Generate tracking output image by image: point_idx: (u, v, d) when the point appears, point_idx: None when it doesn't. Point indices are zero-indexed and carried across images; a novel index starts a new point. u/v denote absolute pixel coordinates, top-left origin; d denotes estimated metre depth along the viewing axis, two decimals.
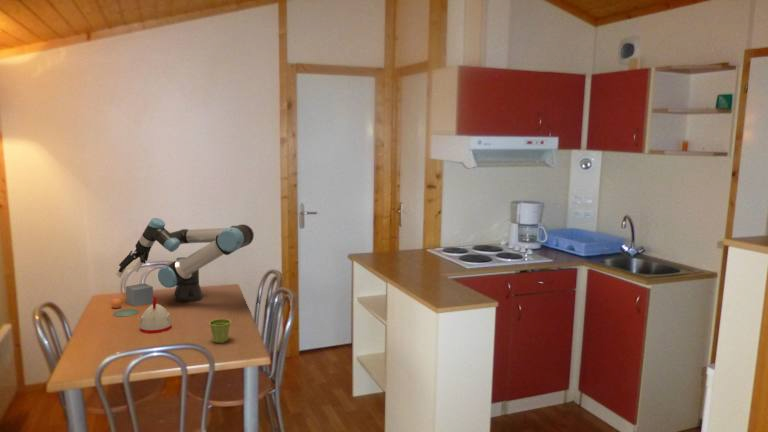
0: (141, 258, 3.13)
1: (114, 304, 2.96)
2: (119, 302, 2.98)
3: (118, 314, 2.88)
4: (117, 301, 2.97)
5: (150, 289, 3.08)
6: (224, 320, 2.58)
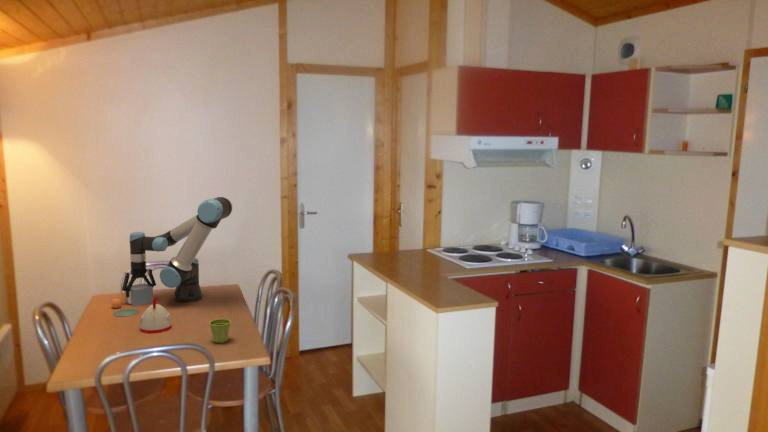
0: (146, 281, 3.11)
1: (114, 304, 2.96)
2: (119, 302, 2.98)
3: (118, 314, 2.88)
4: (117, 301, 2.97)
5: (150, 289, 3.08)
6: (224, 320, 2.58)
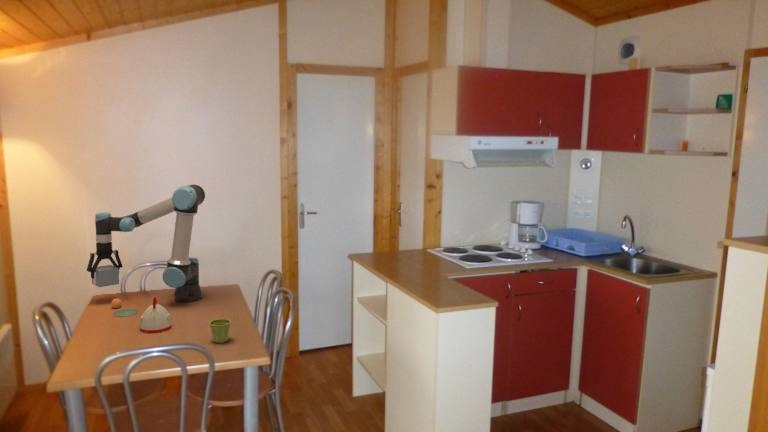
0: (112, 263, 3.08)
1: (114, 304, 2.96)
2: (119, 302, 2.98)
3: (118, 314, 2.88)
4: (117, 301, 2.97)
5: (116, 270, 3.05)
6: (224, 320, 2.58)
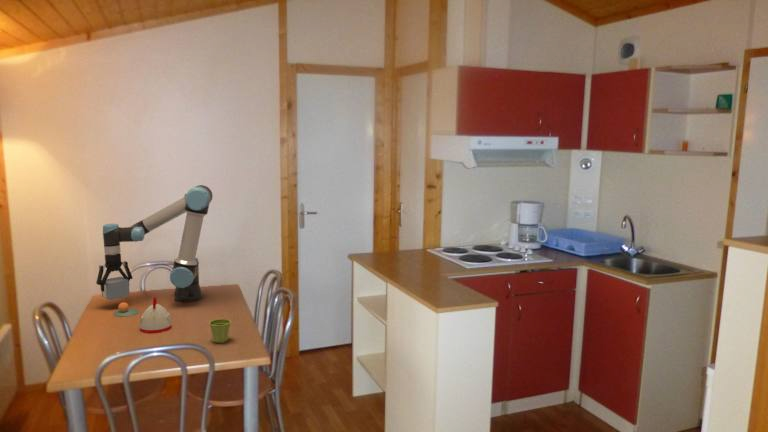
0: (122, 275, 3.01)
1: None
2: None
3: (118, 314, 2.88)
4: None
5: (126, 282, 2.98)
6: (224, 320, 2.58)
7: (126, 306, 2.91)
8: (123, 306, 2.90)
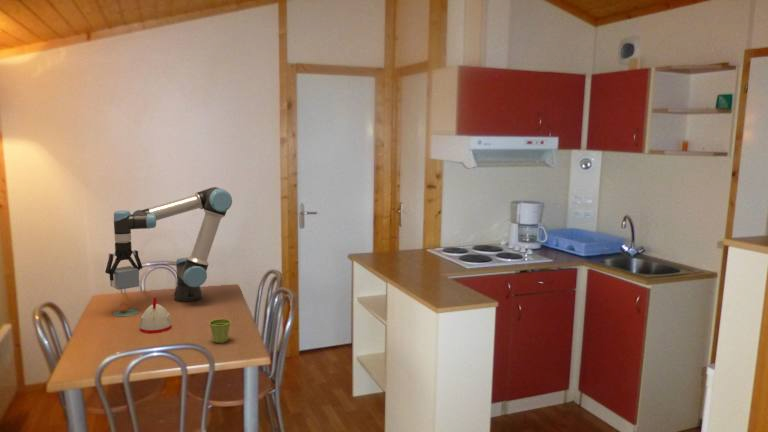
0: (132, 264, 2.90)
1: None
2: None
3: (118, 314, 2.88)
4: None
5: (136, 272, 2.87)
6: (224, 320, 2.58)
7: (126, 306, 2.91)
8: (123, 306, 2.90)
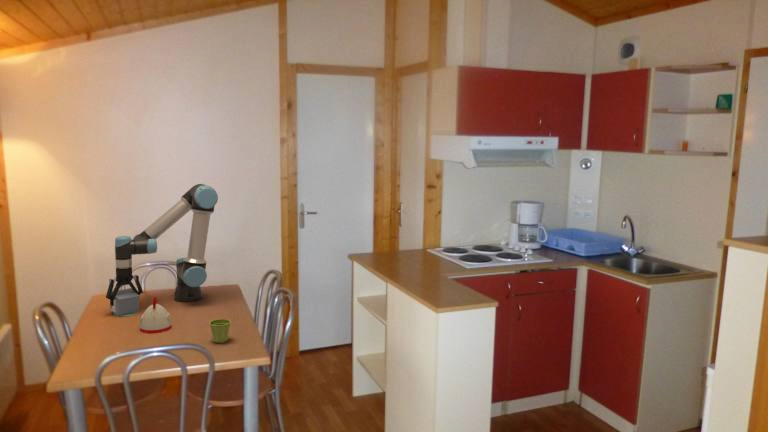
0: (132, 289, 2.92)
1: None
2: None
3: None
4: None
5: (136, 298, 2.89)
6: (224, 320, 2.58)
7: None
8: None
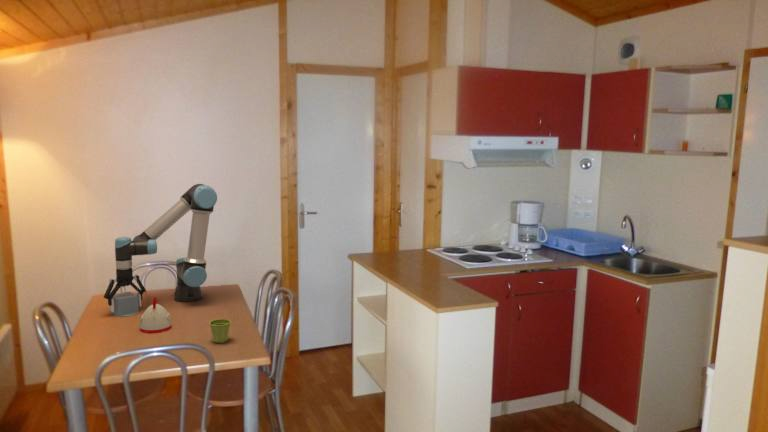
0: (135, 288, 2.93)
1: None
2: None
3: None
4: None
5: (135, 298, 2.90)
6: (224, 320, 2.58)
7: None
8: None
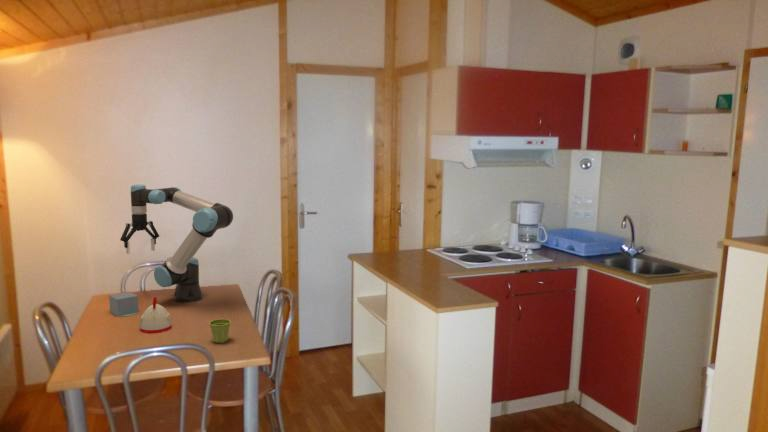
0: (149, 233, 3.13)
1: None
2: None
3: None
4: None
5: (135, 298, 2.90)
6: (224, 320, 2.58)
7: None
8: None
